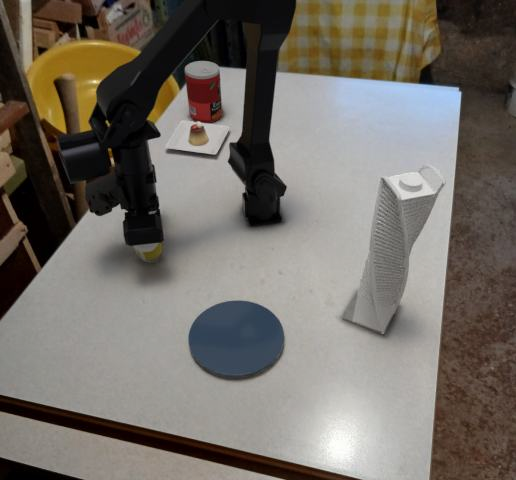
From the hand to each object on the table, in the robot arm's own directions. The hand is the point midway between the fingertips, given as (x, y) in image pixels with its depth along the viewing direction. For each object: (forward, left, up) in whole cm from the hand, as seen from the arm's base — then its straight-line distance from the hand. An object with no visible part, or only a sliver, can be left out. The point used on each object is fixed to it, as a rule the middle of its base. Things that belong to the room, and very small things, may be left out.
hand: (147, 239), depth 93 cm
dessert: (-14, -33, -2) cm, 36 cm away
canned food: (-18, -45, -2) cm, 48 cm away
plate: (-12, +25, -2) cm, 28 cm away
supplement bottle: (0, +2, -1) cm, 2 cm away
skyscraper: (-35, +25, -2) cm, 43 cm away
